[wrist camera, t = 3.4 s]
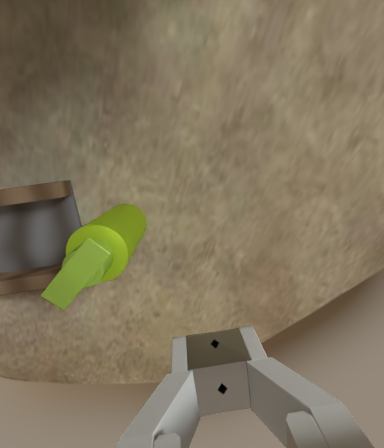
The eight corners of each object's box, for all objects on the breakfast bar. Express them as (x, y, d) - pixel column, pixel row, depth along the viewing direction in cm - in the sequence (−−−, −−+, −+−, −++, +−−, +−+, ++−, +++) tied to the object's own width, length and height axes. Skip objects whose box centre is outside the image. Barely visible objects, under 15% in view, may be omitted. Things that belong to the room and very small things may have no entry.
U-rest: (70, 180, 33) (55, 181, 29) (93, 270, 37) (82, 283, 33) (-51, 197, 33) (-83, 201, 29) (-17, 286, 36) (-41, 301, 32)
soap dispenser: (158, 216, 35) (133, 274, 16) (130, 249, 36) (73, 343, 17) (127, 190, 34) (58, 219, 15) (98, 225, 35) (-1, 296, 16)
